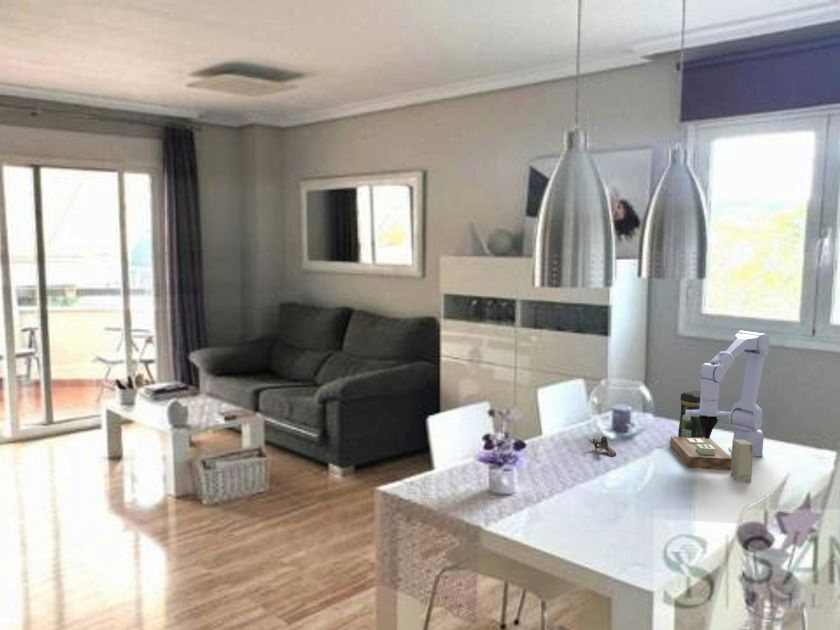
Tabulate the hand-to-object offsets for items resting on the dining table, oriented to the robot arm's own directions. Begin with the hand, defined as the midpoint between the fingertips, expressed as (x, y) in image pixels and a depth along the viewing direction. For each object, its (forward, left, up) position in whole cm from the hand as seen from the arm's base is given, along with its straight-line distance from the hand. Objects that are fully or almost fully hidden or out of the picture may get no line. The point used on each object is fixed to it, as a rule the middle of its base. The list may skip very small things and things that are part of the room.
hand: (706, 437), depth 241 cm
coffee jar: (-4, -31, -9) cm, 33 cm away
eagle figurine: (+33, -7, -9) cm, 35 cm away
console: (0, -6, -9) cm, 11 cm away
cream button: (0, -12, -8) cm, 14 cm away
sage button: (0, 0, -6) cm, 6 cm away
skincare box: (-7, +14, -9) cm, 18 cm away
